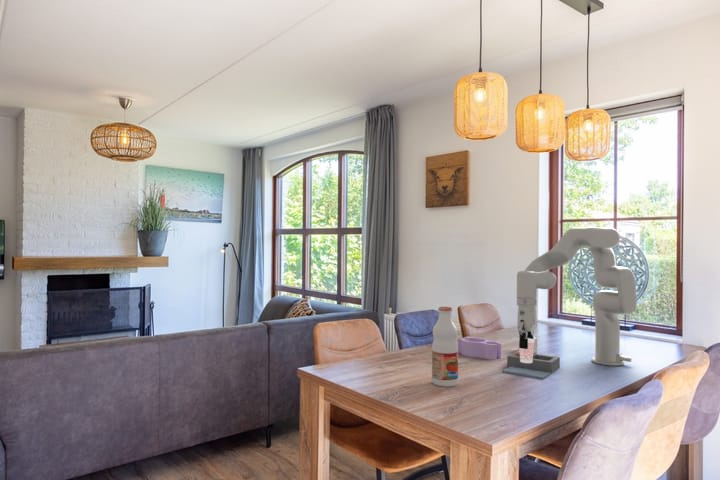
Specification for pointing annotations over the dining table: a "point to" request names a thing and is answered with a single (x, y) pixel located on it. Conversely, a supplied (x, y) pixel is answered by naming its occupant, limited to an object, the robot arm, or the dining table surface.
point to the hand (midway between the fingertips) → (526, 346)
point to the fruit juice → (445, 350)
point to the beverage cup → (527, 352)
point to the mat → (526, 372)
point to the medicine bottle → (534, 344)
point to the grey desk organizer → (535, 362)
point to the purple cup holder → (479, 348)
